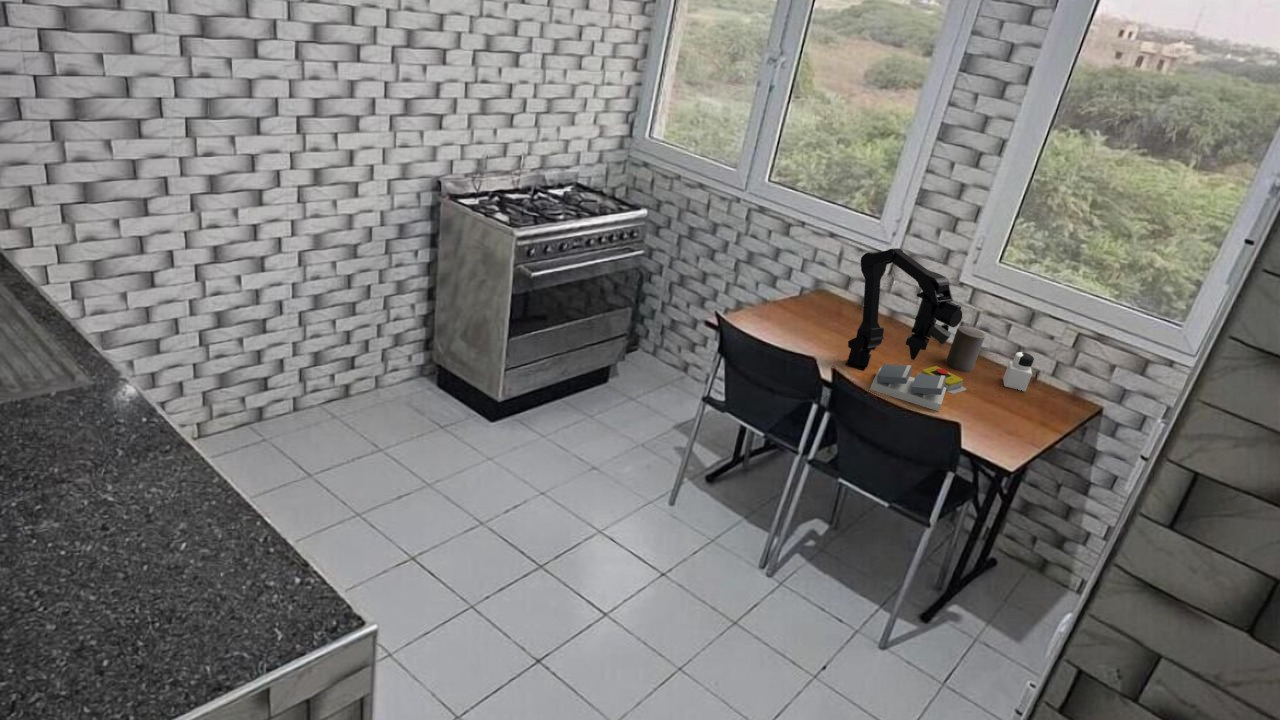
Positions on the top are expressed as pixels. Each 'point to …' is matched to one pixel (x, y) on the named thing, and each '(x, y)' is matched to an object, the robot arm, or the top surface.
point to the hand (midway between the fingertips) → (912, 359)
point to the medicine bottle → (1019, 371)
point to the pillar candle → (965, 348)
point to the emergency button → (952, 381)
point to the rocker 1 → (894, 373)
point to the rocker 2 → (928, 384)
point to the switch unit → (908, 393)
